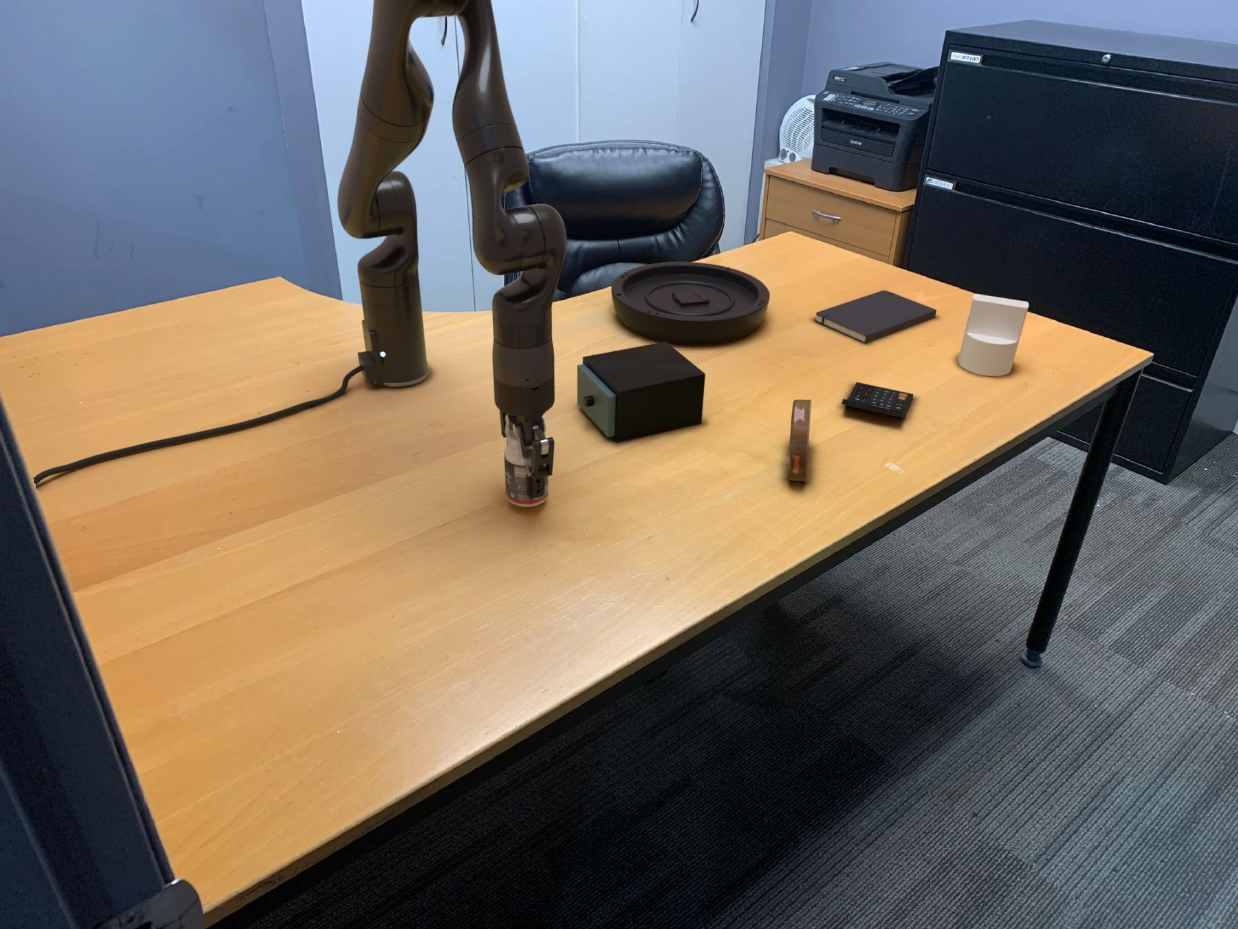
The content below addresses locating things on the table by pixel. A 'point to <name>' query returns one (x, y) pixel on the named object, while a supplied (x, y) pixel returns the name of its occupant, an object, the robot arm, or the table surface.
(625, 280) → the round tray
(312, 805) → the table surface
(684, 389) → the cabinet
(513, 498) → the pill bottle
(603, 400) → the drawer
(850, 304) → the notebook
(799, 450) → the tin
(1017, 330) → the cylinder with rectangular tab
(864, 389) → the calculator
